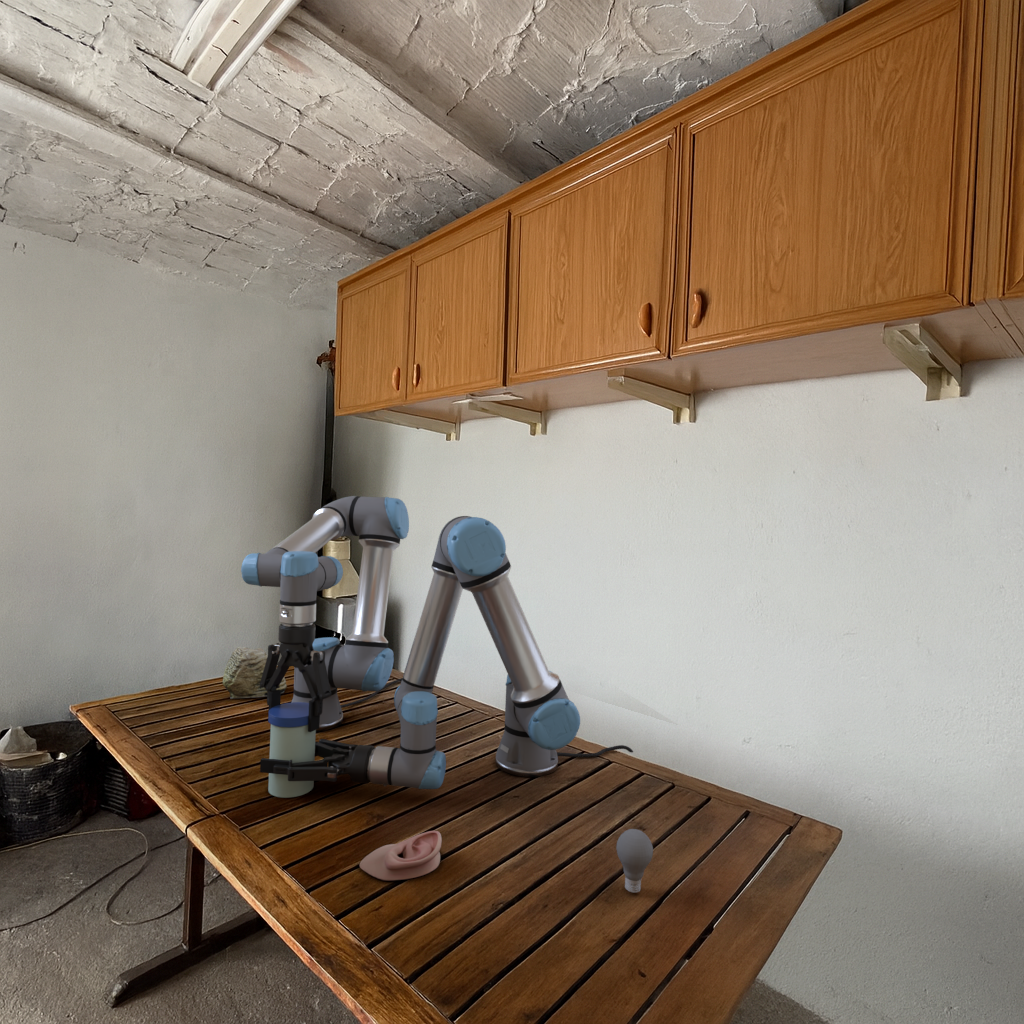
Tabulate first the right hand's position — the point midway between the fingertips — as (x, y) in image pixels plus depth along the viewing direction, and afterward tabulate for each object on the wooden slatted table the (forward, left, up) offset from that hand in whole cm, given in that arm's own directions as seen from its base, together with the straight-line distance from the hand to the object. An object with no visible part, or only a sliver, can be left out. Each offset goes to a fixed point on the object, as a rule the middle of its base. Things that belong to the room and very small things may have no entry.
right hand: (272, 755), depth 138 cm
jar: (-4, +2, -7) cm, 8 cm away
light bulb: (-58, +54, -7) cm, 80 cm away
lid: (-4, +2, +10) cm, 11 cm away
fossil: (+7, -66, -7) cm, 67 cm away
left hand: (-4, +2, +7) cm, 8 cm away
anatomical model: (-22, +36, -7) cm, 43 cm away
